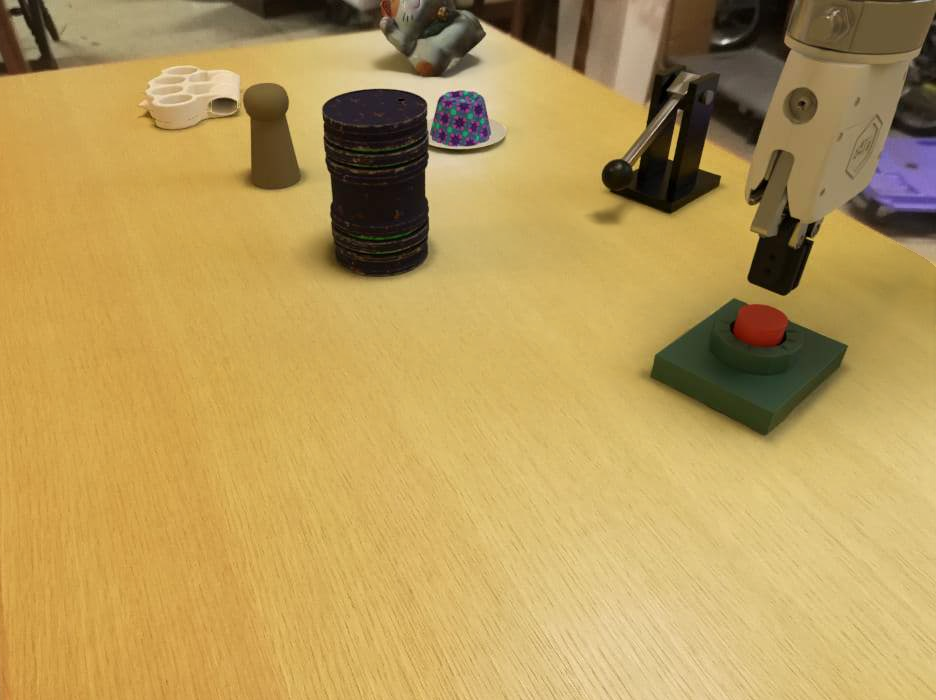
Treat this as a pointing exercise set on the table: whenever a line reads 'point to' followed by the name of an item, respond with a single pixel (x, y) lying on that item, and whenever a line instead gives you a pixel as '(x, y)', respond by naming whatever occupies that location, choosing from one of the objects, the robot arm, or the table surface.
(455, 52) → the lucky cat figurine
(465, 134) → the pudding
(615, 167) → the lever
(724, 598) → the table surface
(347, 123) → the dark purple cylinder
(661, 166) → the bracket
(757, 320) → the button
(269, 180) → the brown pawn
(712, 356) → the button box
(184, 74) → the white brass knuckles
